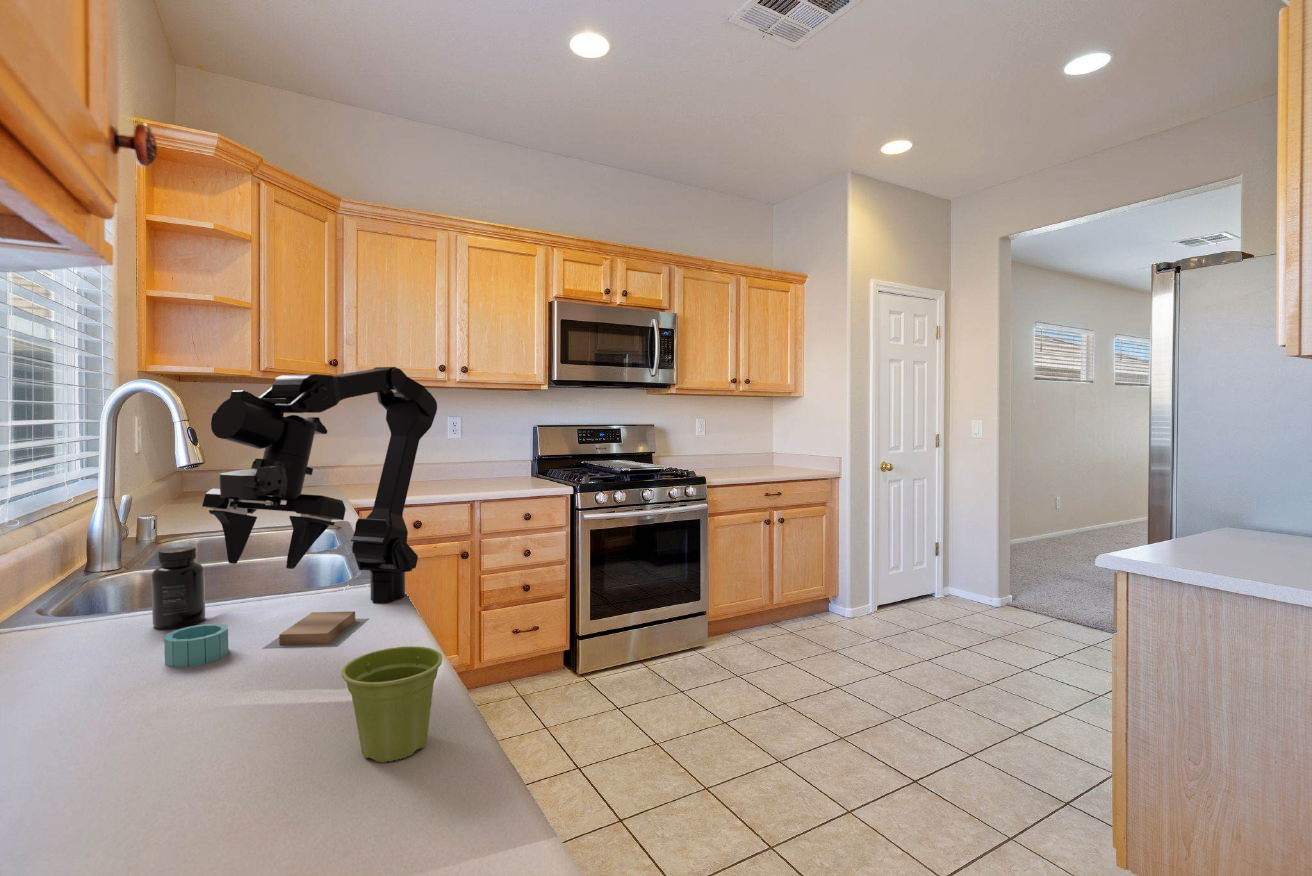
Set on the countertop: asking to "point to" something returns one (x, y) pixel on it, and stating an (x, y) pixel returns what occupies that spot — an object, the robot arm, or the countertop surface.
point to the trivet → (334, 642)
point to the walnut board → (317, 628)
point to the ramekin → (196, 645)
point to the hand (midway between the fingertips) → (260, 566)
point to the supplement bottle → (178, 589)
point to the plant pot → (392, 699)
